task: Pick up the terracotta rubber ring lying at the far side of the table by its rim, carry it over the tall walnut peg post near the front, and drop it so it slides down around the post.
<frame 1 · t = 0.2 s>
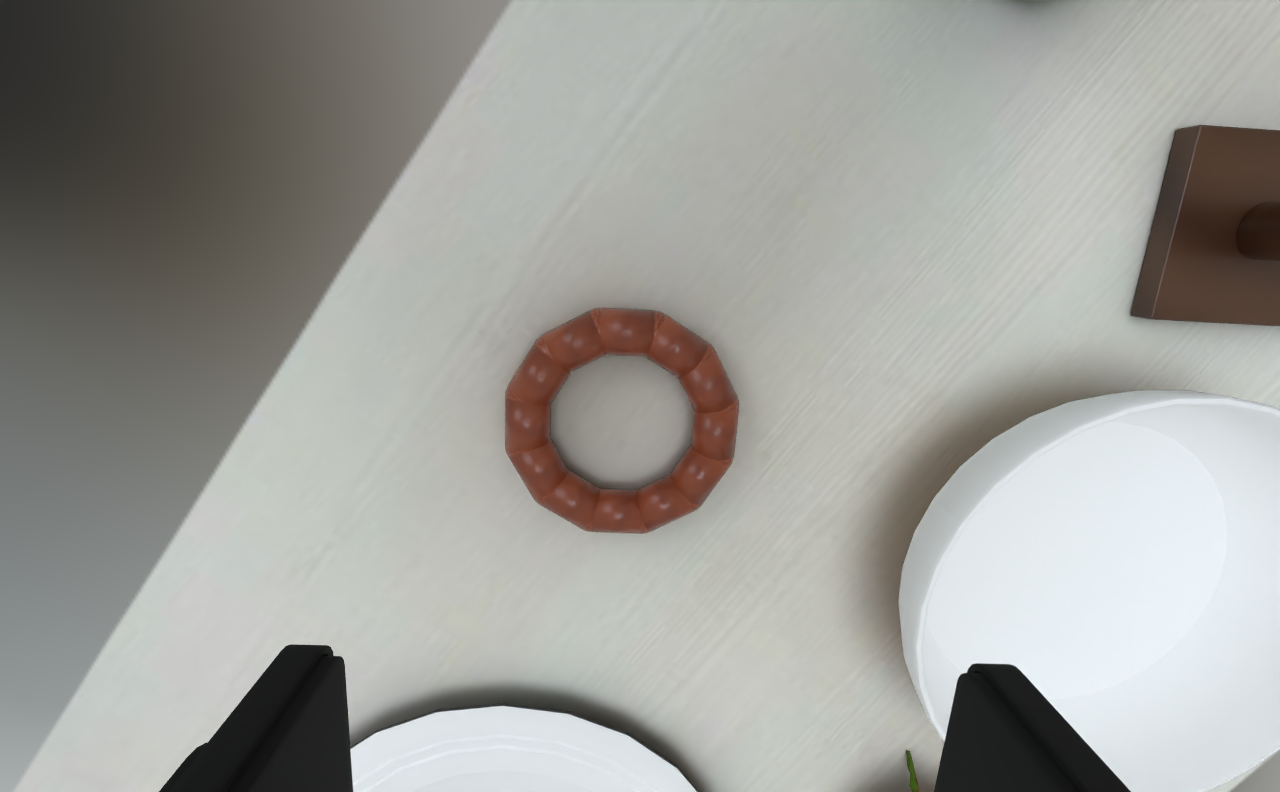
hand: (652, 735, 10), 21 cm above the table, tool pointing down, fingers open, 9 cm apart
peg post: (1238, 230, 29), on the table
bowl: (1049, 550, 32), on the table
ring: (621, 424, 29), point 1 cm above the table
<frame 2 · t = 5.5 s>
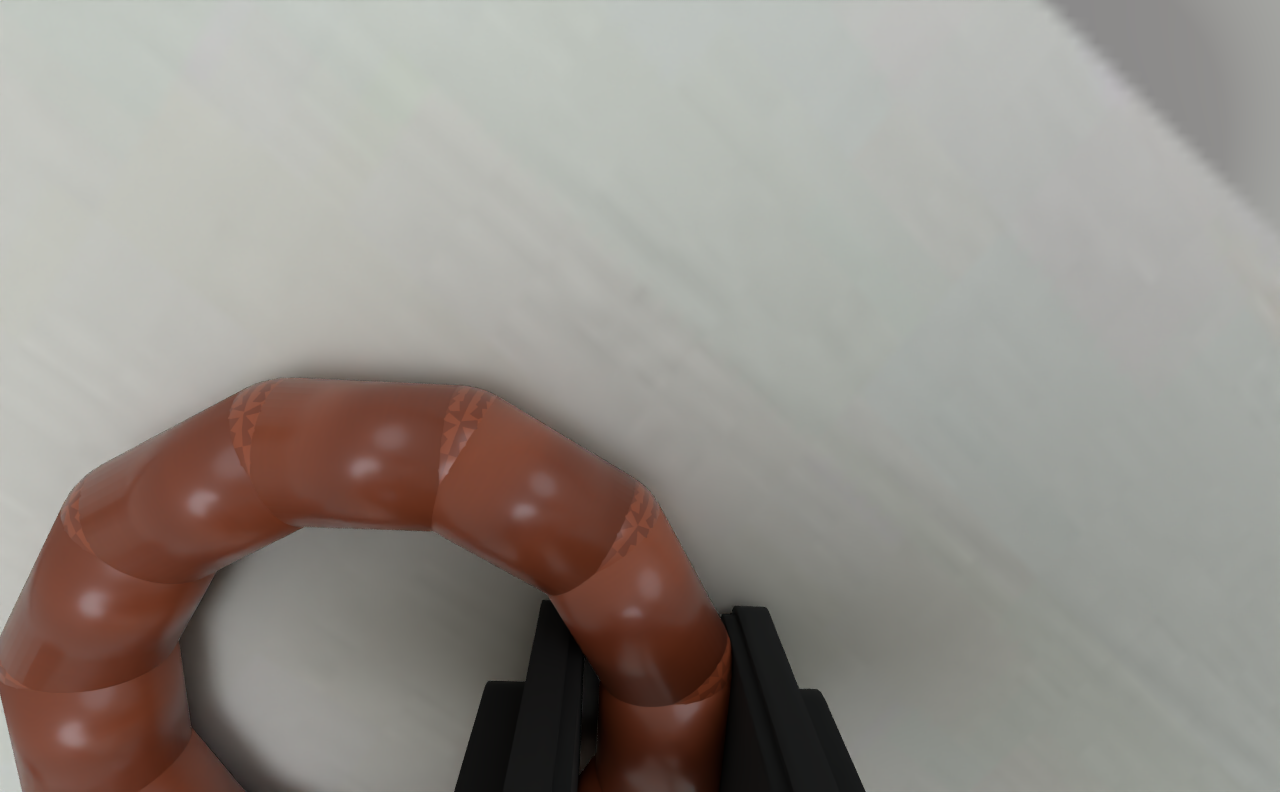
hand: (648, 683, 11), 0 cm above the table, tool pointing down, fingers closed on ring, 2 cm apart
ring: (388, 713, 10), point 1 cm above the table, touching gripper
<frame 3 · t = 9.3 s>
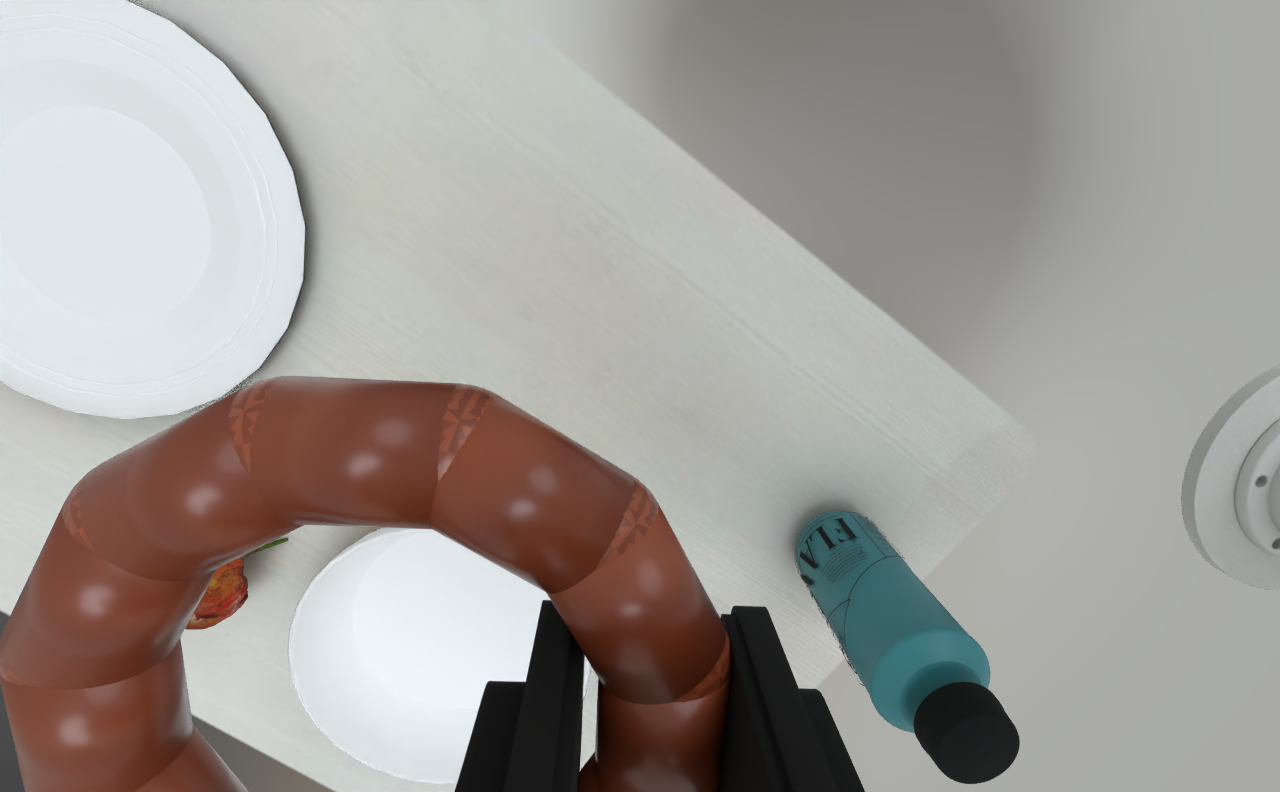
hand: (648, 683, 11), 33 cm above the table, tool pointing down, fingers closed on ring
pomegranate: (234, 541, 46), on the table
beverage bottle: (828, 538, 48), on the table
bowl: (462, 607, 48), on the table
plate: (114, 219, 40), on the table
ring: (388, 711, 10), point 34 cm above the table, touching gripper
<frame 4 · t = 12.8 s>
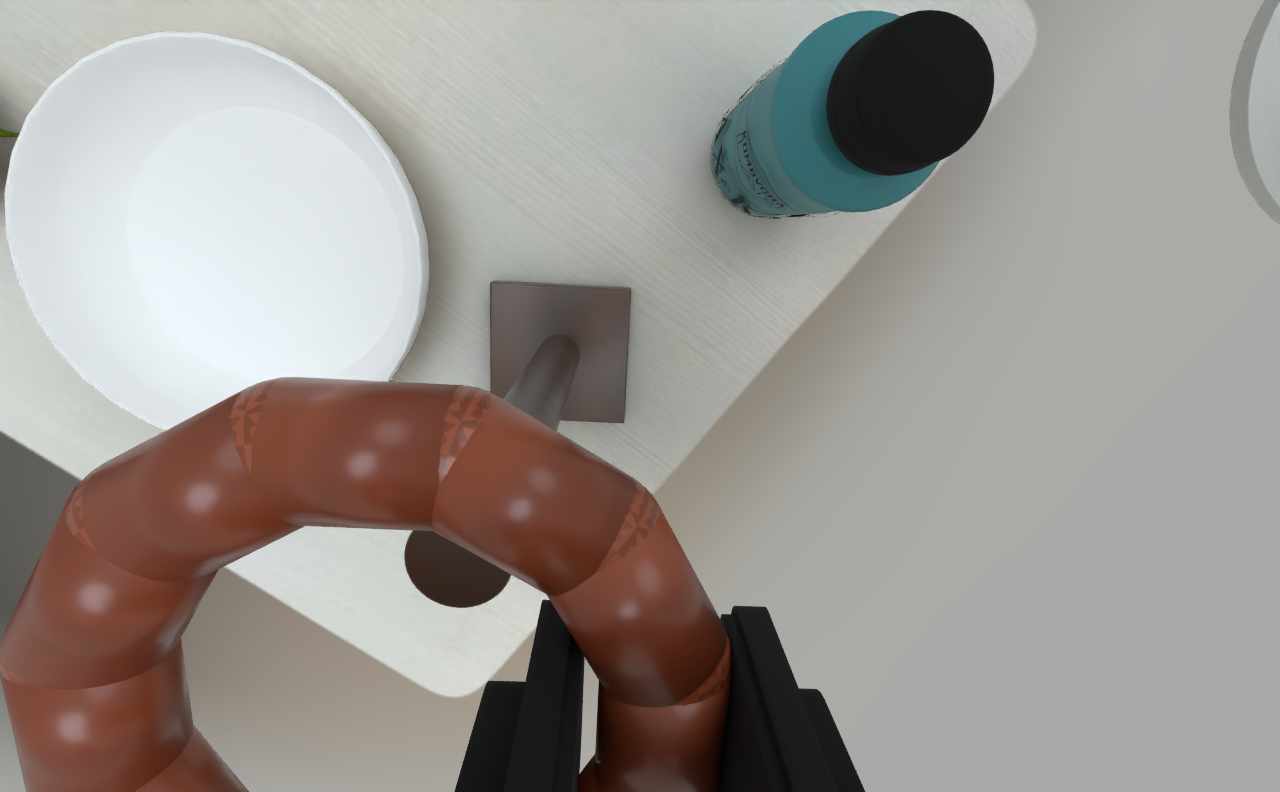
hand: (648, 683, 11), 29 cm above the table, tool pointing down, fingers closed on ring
peg post: (561, 351, 39), on the table
beverage bottle: (761, 161, 36), on the table
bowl: (284, 251, 37), on the table
ring: (388, 712, 10), point 30 cm above the table, touching gripper
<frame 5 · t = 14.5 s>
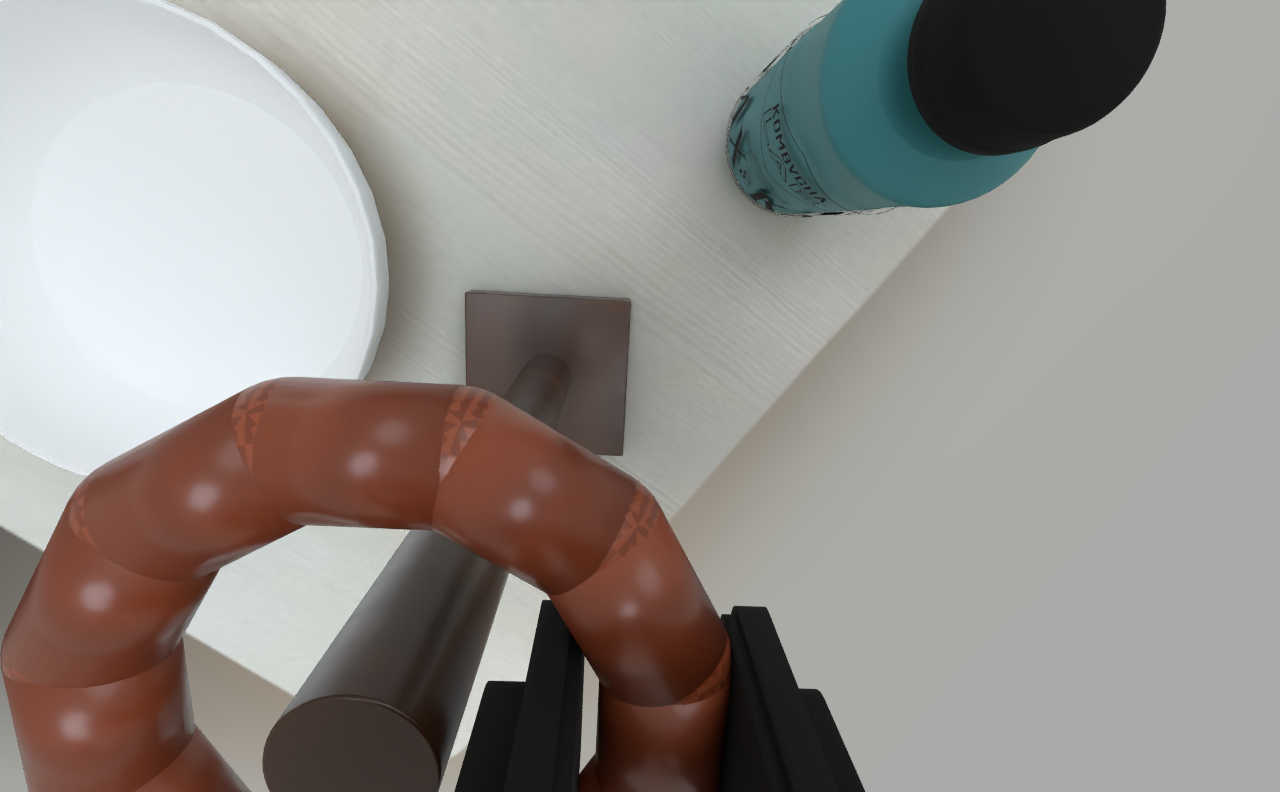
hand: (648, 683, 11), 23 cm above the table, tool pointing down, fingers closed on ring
peg post: (549, 372, 33), on the table
beverage bottle: (784, 150, 31), on the table
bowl: (223, 255, 31), on the table
ring: (389, 711, 10), point 24 cm above the table, touching gripper
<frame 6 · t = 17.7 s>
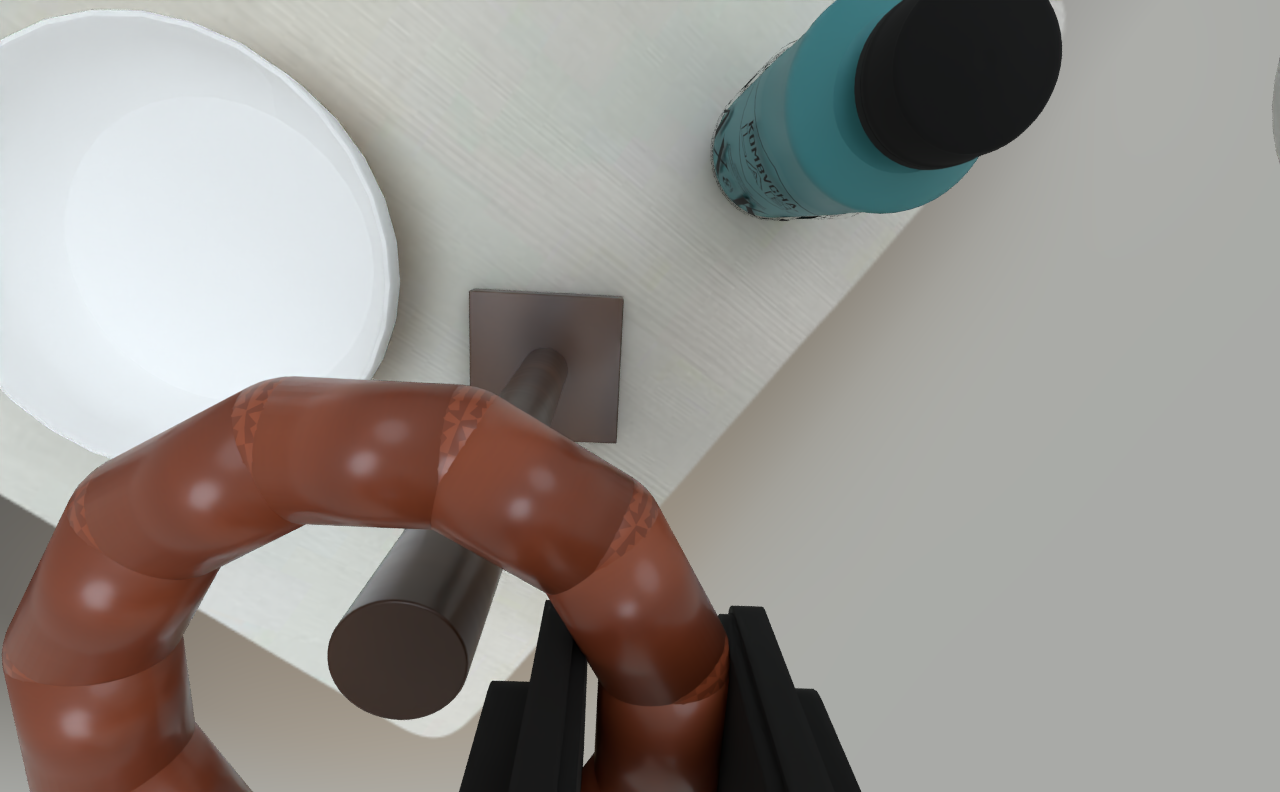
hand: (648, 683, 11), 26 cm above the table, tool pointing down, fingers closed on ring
peg post: (547, 365, 35), on the table
beverage bottle: (766, 158, 33), on the table
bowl: (242, 256, 34), on the table
ring: (388, 710, 10), point 26 cm above the table, touching gripper
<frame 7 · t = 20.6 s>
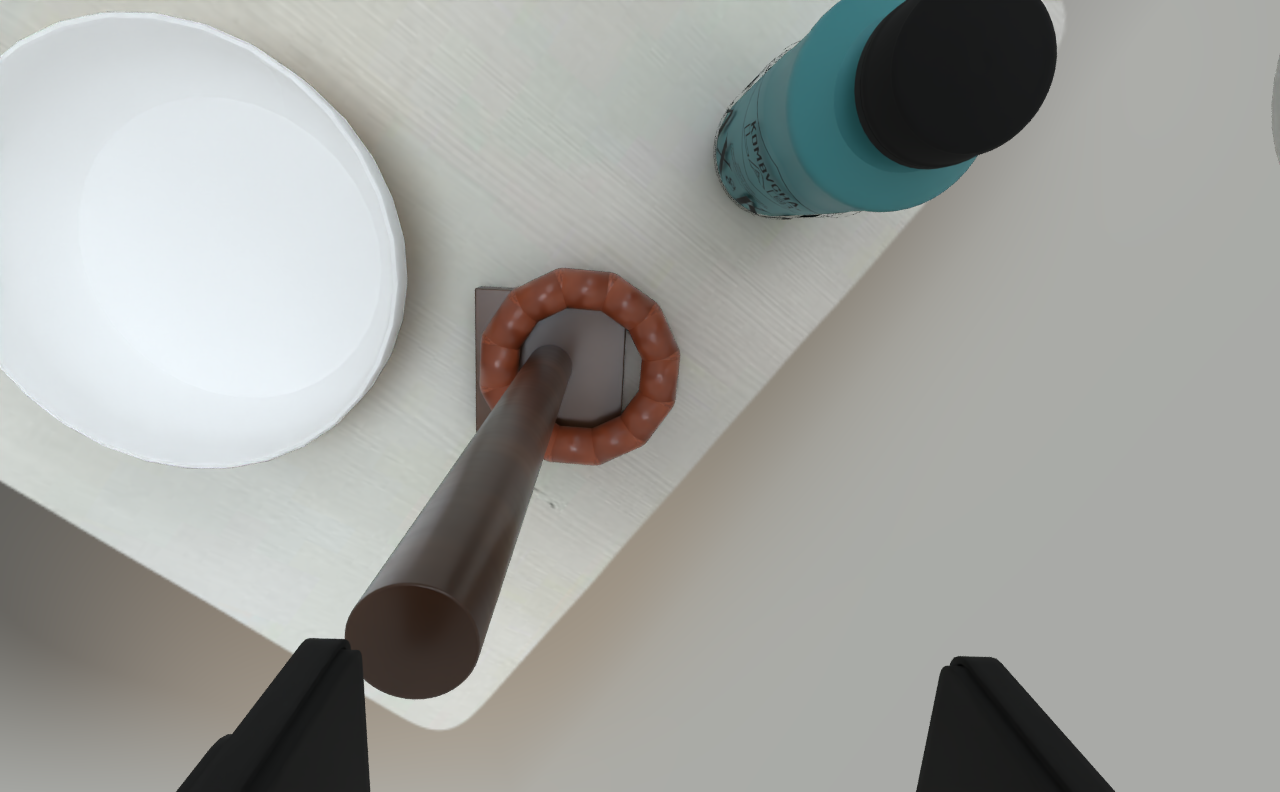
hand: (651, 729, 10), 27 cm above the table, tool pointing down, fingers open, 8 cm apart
peg post: (552, 362, 36), on the table
beverage bottle: (768, 157, 34), on the table
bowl: (252, 254, 34), on the table
ring: (579, 370, 34), point 2 cm above the table, touching peg post
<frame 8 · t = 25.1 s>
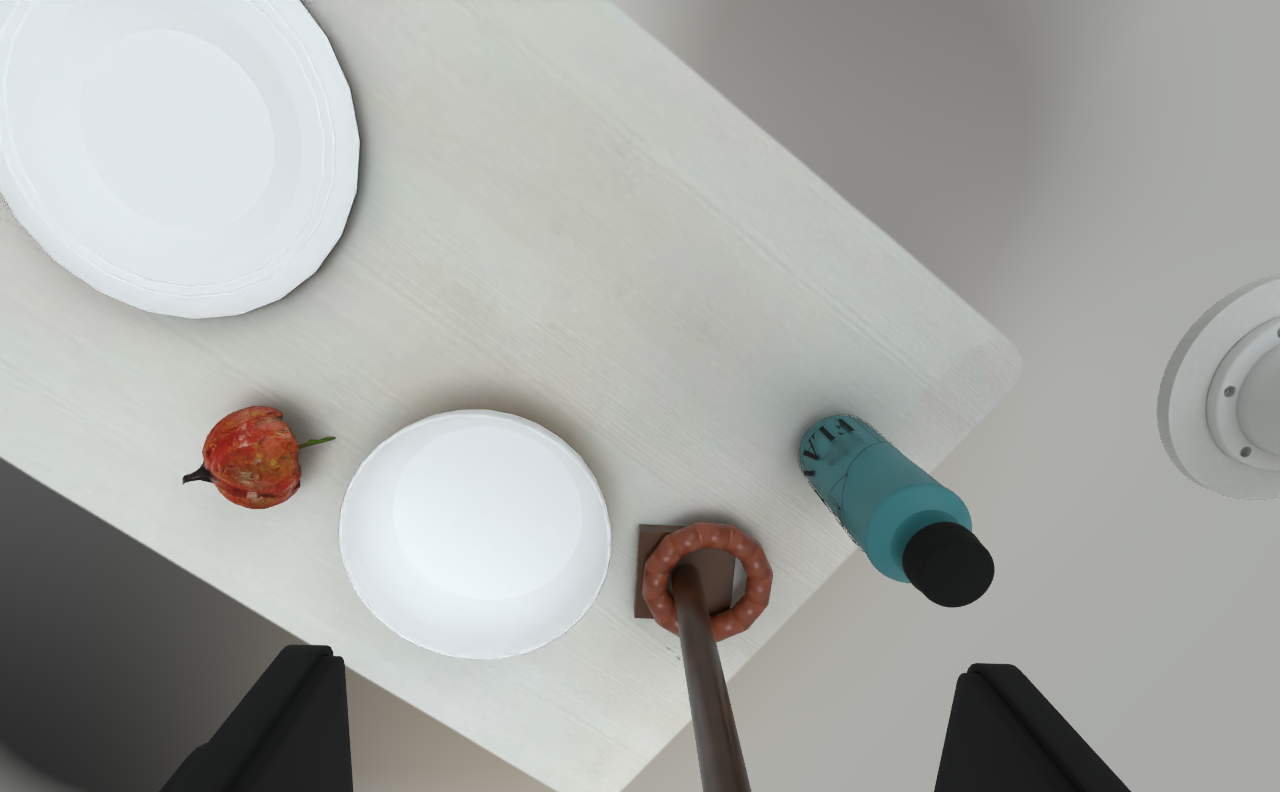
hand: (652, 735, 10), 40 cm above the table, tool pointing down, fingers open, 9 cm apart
peg post: (683, 569, 54), on the table
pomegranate: (286, 439, 50), on the table
beverage bottle: (830, 445, 52), on the table
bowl: (492, 506, 52), on the table
plate: (187, 135, 44), on the table
ring: (707, 583, 52), point 2 cm above the table, touching peg post
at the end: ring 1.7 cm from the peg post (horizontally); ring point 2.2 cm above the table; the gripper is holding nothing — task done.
